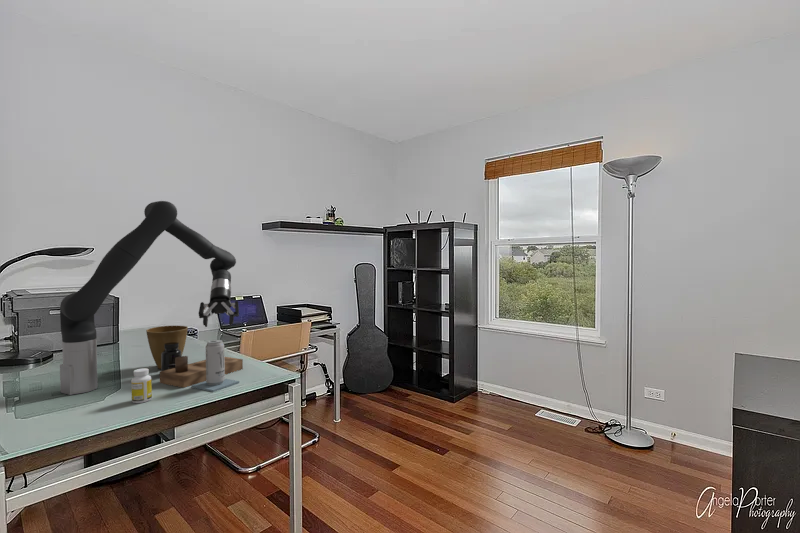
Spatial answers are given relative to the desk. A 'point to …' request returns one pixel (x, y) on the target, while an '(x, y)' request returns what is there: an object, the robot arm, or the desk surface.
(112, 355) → the desk surface
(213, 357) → the energy drink can
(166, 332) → the plant pot
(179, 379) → the body
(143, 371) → the supplement bottle
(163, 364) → the supplement bottle
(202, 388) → the rubber mat
